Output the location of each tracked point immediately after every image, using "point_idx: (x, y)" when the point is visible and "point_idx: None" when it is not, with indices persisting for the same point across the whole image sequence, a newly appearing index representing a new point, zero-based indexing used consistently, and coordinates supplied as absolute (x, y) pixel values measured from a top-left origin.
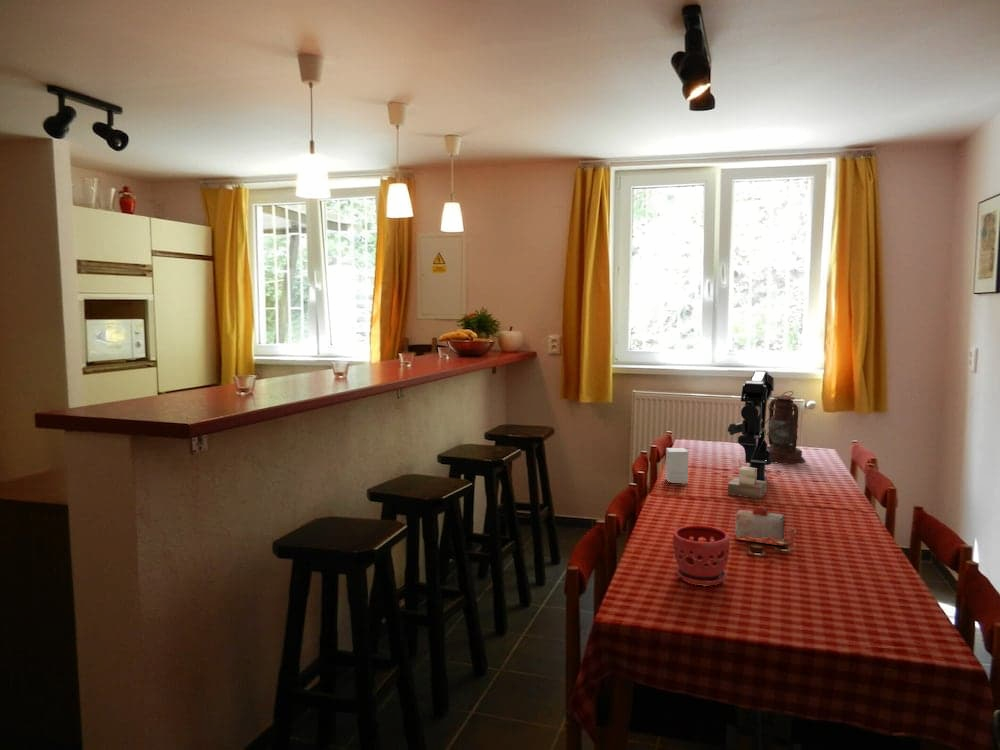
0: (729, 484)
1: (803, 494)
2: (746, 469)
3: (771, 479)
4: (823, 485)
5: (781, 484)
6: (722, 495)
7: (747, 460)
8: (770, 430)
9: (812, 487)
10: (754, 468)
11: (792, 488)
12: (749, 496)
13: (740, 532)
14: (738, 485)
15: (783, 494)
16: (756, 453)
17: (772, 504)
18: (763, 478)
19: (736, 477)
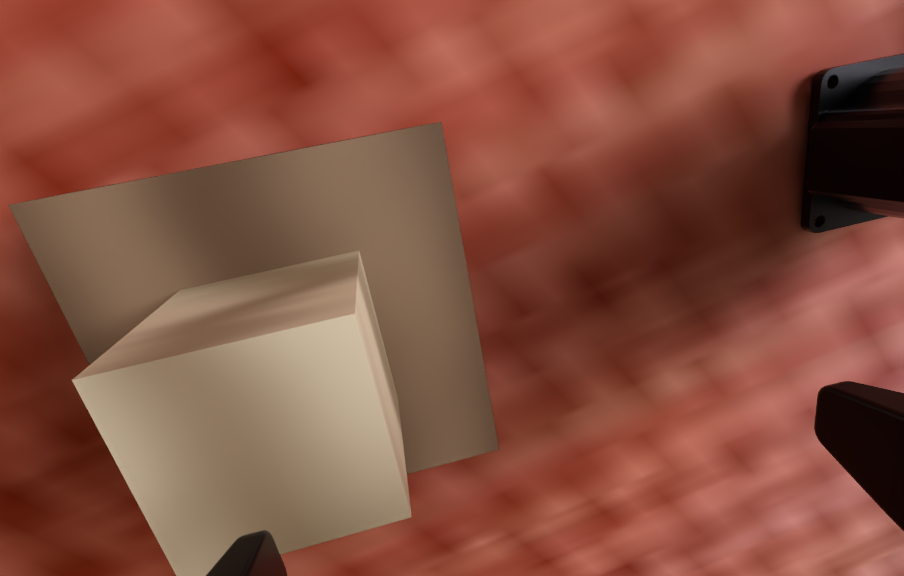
0: (25, 221)
1: (581, 563)
2: (175, 467)
3: (892, 246)
4: (863, 534)
5: (771, 364)
6: (10, 157)
7: (231, 561)
8: None
9: (786, 519)
10: (359, 507)
11: (696, 459)
12: None
13: None
14: (79, 330)
15: (494, 493)
16: (878, 500)
17: (151, 571)
18: (857, 210)
19: (432, 141)
